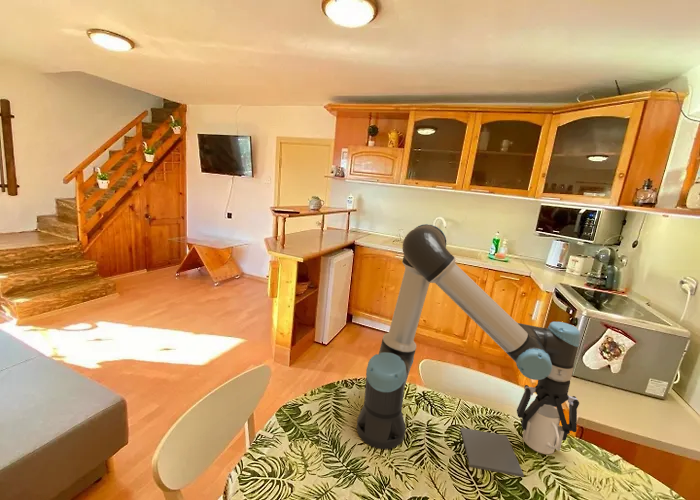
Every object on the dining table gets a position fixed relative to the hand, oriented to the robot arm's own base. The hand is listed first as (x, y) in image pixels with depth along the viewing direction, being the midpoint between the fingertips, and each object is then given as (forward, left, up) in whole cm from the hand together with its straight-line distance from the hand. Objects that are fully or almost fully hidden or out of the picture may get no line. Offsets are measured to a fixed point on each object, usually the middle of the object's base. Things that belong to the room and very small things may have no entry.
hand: (540, 442), depth 94 cm
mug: (0, 0, -2) cm, 2 cm away
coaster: (-15, -8, -2) cm, 17 cm away
